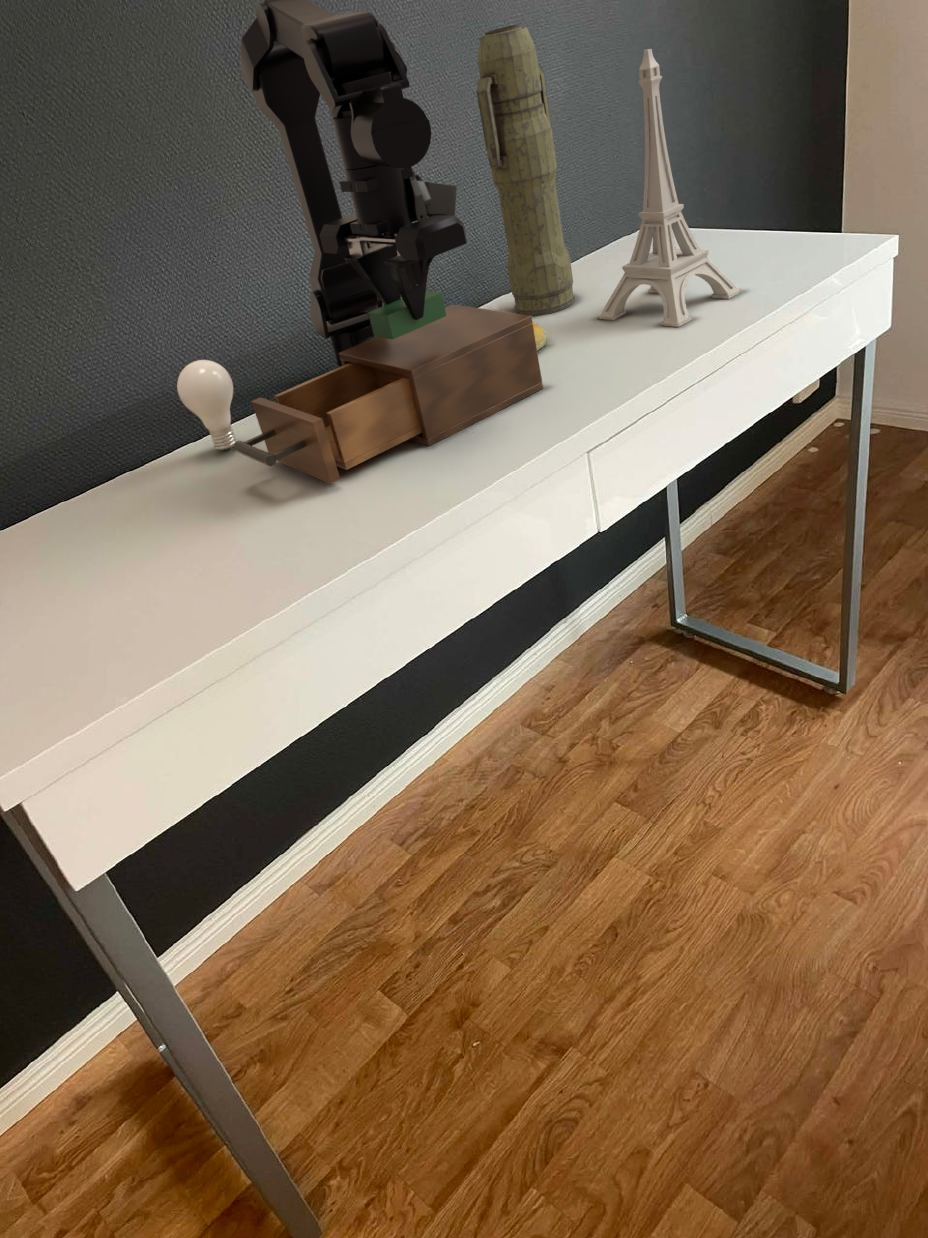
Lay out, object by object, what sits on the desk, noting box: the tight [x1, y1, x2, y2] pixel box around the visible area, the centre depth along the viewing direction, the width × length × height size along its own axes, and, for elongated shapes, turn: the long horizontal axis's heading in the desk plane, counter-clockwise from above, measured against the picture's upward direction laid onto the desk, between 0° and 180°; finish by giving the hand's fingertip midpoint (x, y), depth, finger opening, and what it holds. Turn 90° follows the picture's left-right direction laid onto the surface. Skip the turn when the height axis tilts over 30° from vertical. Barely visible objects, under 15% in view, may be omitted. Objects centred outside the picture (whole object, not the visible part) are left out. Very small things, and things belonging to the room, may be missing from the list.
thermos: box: [476, 23, 576, 316], centre depth 130 cm, size 9×12×35 cm
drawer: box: [233, 362, 422, 485], centre depth 105 cm, size 21×13×7 cm, turn 129°
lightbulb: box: [176, 359, 238, 452], centre depth 114 cm, size 6×6×11 cm
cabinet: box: [339, 303, 544, 447], centre depth 111 cm, size 17×15×9 cm
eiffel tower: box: [597, 48, 742, 328], centre depth 120 cm, size 13×13×30 cm
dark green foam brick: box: [369, 290, 446, 339], centre depth 105 cm, size 8×4×3 cm, turn 130°
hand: (408, 316), depth 105 cm, fingers closed on dark green foam brick, 3 cm apart
